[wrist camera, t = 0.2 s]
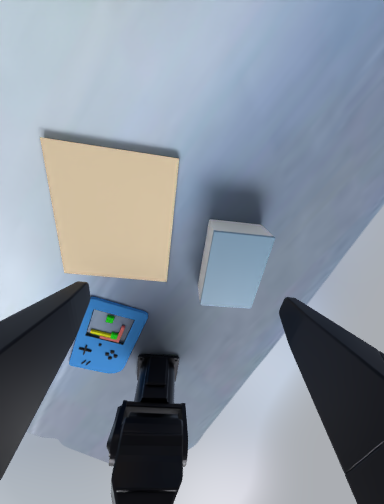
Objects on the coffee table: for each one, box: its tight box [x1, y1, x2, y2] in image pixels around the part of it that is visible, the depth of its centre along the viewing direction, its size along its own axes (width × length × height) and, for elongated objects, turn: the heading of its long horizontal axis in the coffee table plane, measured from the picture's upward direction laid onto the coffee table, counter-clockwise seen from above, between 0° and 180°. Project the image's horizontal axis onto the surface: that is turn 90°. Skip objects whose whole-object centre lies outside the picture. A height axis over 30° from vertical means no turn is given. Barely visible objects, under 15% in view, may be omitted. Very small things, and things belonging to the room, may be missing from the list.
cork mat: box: [40, 137, 179, 282], centre depth 21 cm, size 14×12×1 cm
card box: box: [198, 219, 275, 308], centre depth 23 cm, size 9×6×4 cm, turn 173°
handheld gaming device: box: [69, 297, 148, 373], centre depth 30 cm, size 8×1×15 cm
